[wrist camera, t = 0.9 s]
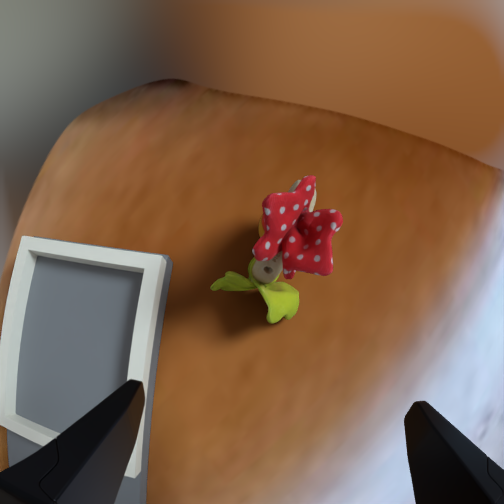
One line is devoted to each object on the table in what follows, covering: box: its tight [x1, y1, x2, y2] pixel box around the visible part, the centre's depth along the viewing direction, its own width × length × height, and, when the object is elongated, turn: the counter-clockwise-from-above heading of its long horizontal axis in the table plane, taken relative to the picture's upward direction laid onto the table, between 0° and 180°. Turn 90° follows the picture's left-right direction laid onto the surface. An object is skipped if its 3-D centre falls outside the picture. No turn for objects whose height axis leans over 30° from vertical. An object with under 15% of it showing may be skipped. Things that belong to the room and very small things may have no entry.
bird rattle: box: [210, 175, 343, 324], centre depth 20 cm, size 6×11×9 cm
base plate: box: [0, 236, 173, 504], centre depth 18 cm, size 22×12×4 cm, turn 174°
